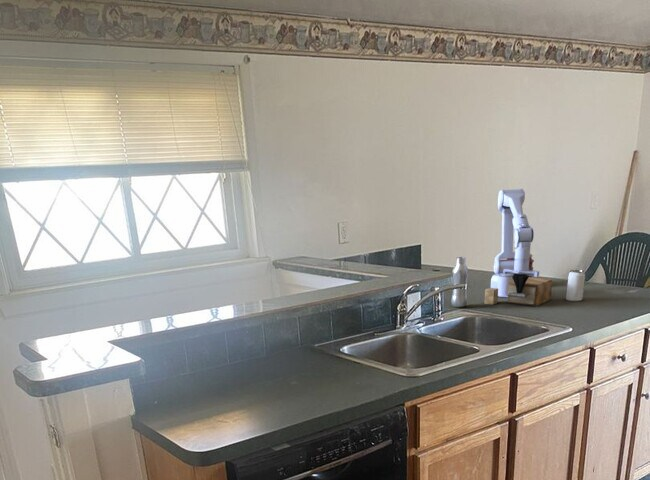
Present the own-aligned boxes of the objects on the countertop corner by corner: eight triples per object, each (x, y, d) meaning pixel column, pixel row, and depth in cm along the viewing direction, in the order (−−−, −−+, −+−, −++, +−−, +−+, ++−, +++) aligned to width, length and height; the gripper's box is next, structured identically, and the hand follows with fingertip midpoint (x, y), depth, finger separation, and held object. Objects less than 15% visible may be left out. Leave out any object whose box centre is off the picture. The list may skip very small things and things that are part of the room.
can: (579, 298, 277) (583, 269, 273) (584, 301, 271) (587, 272, 267) (564, 298, 278) (567, 270, 273) (567, 301, 272) (571, 272, 267)
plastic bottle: (468, 305, 273) (470, 256, 265) (464, 309, 267) (466, 259, 259) (453, 304, 275) (455, 256, 268) (449, 308, 270) (450, 258, 262)
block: (484, 303, 275) (485, 289, 273) (488, 301, 278) (489, 287, 276) (493, 304, 273) (494, 290, 271) (497, 302, 276) (498, 288, 273)
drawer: (528, 306, 263) (530, 289, 260) (502, 303, 270) (503, 287, 267) (546, 298, 276) (548, 282, 273) (521, 295, 282) (522, 279, 280)
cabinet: (536, 306, 267) (538, 284, 264) (507, 302, 275) (508, 282, 271) (550, 299, 277) (552, 279, 274) (522, 296, 285) (523, 276, 282)
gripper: (500, 259, 263) (498, 293, 268) (535, 261, 254) (532, 296, 260) (508, 256, 268) (506, 290, 273) (542, 259, 259) (539, 293, 264)
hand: (519, 293), depth 267 cm, fingers closed
